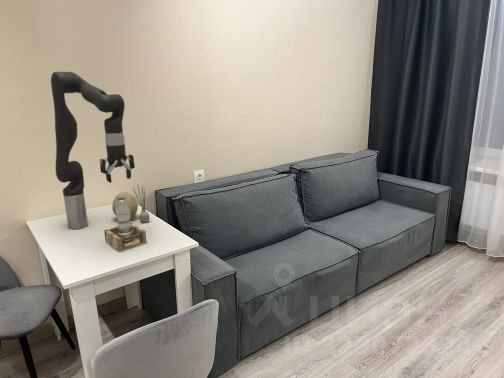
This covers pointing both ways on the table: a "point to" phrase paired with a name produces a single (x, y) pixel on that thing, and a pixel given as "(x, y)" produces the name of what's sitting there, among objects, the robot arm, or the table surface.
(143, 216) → the reed diffuser
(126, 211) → the metal bottle
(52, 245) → the table surface
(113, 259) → the table surface
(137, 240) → the caddy
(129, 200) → the fossilized egg
